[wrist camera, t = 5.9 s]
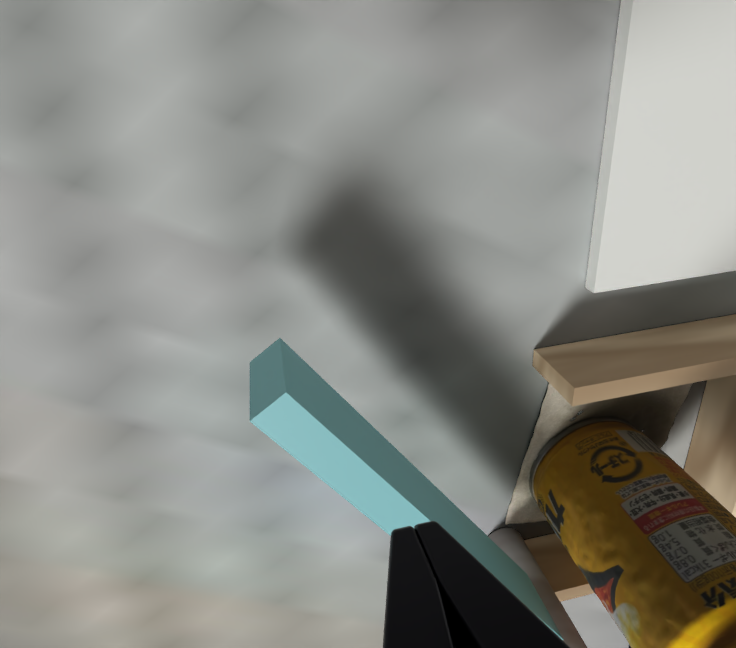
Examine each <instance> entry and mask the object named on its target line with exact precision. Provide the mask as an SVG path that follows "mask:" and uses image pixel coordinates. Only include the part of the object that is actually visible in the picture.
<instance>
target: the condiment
mask: <svg viewBox="0 0 736 648" xmlns="http://www.w3.org/2000/svg"><path fill="white" fill-rule="evenodd" d="M691 385H692V383H690V384H684V385H679V386H674V387H669V388H664V389H659V390H654V391H648V392H643V393H638V394H633V395H628V396H623V397H618V398H613V399H607V400H602V401H597V402H592V403H587V404H582V405H577V406H571V405H570V404H569V403H568V402H567V401H566V400H565V399H564V398H563V397H562V395H561V394H560V393H559V392H558V391H557V390H556V389H555V388H554V387H553V386H552V385H551V384H550V383H549V385H548V390H547V393H546V396H545V399H544V401H543V403H542V407H541V412H540V416H539V419H538V421H537V424H536V427H535V430H534V434H533V437H532V439H531V442H530V445H529V448H528V451H527V453H526V455H525V458H524V461H523V464H522V467H521V470H520V474H519V477H518V480H517V483H516V487H515V489H514V492H513V495H512V500H511V503H510V505H509V509H508V512H507V516H506V523H505V525H507V524H517V523H527V522H537V521H545V520H547V521H548V523H549V524H550V526H551V527H552V528H553V530H554V532H555V533H556V535H557V537H558V538H559V539H560V541H561V542H562V544H563V545H564V547H565V548H566V549H567V551H568V552H569V554H570V556H571V557H572V559H573V561H574V562H575V564H576V565H577V566H578V567H579V568H580V570H581V571H582V573H583V575H584V576H585V578H586V579H587V581H588V583H589V585H590V587H591V589H592V590H593V592H594V593H595V594H597V596H598V597H599V599H600V600H601V602H602V604H603V605H604V607H605V608H606V610H607V611H608V612H609V614H610V615H611V617H612V618H613V620H614V621H615V623H616V624H617V626H618V628H619V629H620V630H621V632H622V633H623V635H624V636H625V638H626V639H627V641H628V643H629V644H630V646H631V648H736V517H735V516H733V515H732V514H731V513H730V512H729V511H728V510H727V509H726V508H725V507H724V506H723V505H721V504H720V503H719V502H718V501H717V500H716V499H715V498H714V497H713V496H712V495H711V494H709V493H708V492H707V491H706V490H705V489H704V488H703V487H702V486H701V485H700V484H699V483H697V482H696V481H695V480H694V479H693V478H692V477H691V476H690V475H689V474H688V473H686V472H685V471H684V470H683V469H682V468H681V467H680V466H679V465H678V464H676V463H675V462H674V461H673V460H672V459H671V458H670V457H669V456H668V455H667V454H666V453H664V452H663V451H662V450H661V447H662V446H663V445H664V444H665V442H666V440H667V439H668V434H669V431H670V429H671V427H672V425H673V423H674V419H675V417H676V415H677V413H678V411H679V409H680V407H681V406H682V404H683V402H684V401H685V399H686V398H687V396H688V392H689V390H690V387H691ZM581 410H584V411H583V412H582V413H581V414H580V415H577V413H578V412H580V411H581ZM573 417H576V419H575V420H573V421H570V420H571V419H572V418H573ZM643 429H644V432H642V430H643Z"/></svg>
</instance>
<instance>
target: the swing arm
mask: <svg viewBox="0 0 736 648" xmlns="http://www.w3.org/2000/svg"><path fill="white" fill-rule="evenodd" d="M250 422H251V423H252V424H254V425H255V426H256V427H257V428H259V429H260V430H261V431H262V432H264V433H265V434H266V435H267V436H268V437H270V438H271V439H272V440H273V441H275V442H276V443H277V444H278V445H280V446H281V447H282V448H283V449H284V450H286V451H287V452H288V453H289V454H291V455H292V456H293V457H294V458H295V459H297V460H298V461H299V462H300V463H302V464H303V465H304V466H305V467H307V468H308V469H309V470H310V471H311V472H313V473H314V474H315V475H316V476H318V477H319V478H320V479H321V480H322V481H324V482H325V483H326V484H327V485H329V486H330V487H331V488H332V489H334V490H335V491H336V492H337V493H338V494H340V495H341V496H342V497H343V498H345V499H346V500H347V501H348V502H350V503H351V504H352V505H353V506H354V507H356V508H357V509H358V510H359V511H361V512H362V513H363V514H364V515H365V516H367V517H368V518H369V519H370V520H372V521H373V522H374V523H375V524H377V525H378V526H379V527H380V528H381V529H383V530H384V531H385V532H386V533H388V534H389V535H390V536H391V532H392V531H393V530H394V529H398V528H402V527H407V526H412V527H413V528H414V526H415V525H417V524H420V523H425V522H429V521H436V522H438V523H439V524H440V525H441V526H442V527H443V528H444V529H445V530H446V531H447V532H448V533H449V534H450V535H452V536H453V537H454V538H455V539H456V540H457V541H458V542H459V543H460V544H461V545H462V546H463V547H464V548H465V549H466V550H467V551H468V552H470V553H471V554H472V555H473V556H474V557H475V558H476V559H477V560H478V561H479V562H480V563H481V564H482V565H483V566H484V567H485V568H487V569H488V570H489V571H490V572H491V573H492V574H493V575H494V576H495V577H496V578H497V579H498V580H499V581H500V582H501V583H502V584H503V585H505V586H506V587H507V588H508V589H509V590H510V591H511V592H512V593H513V594H514V595H515V596H516V597H517V598H518V599H519V600H520V601H521V602H523V603H524V604H525V605H526V606H527V607H528V608H529V609H530V610H531V611H532V612H533V613H534V614H535V615H536V616H537V617H538V618H540V619H541V620H542V621H543V622H544V623H545V624H546V625H547V626H548V627H549V628H550V629H551V630H552V631H553V632H554V633H555V634H556V635H558V636H559V637H560V638H561V639H562V640H564V639H563V638H562V636H561V634H560V632H559V630H558V629H557V627H556V625H555V623H554V621H553V620H552V618H551V616H550V614H549V612H548V611H547V609H546V607H545V605H544V603H543V602H542V600H541V598H540V596H539V594H538V593H537V591H536V589H535V587H534V585H533V584H532V582H531V580H530V578H529V577H528V575H527V573H526V572H525V571H523V570H522V569H521V568H520V567H519V566H518V565H517V564H516V563H515V562H514V561H513V560H512V559H511V558H510V557H509V556H508V555H507V554H506V553H505V552H504V551H503V550H501V549H500V548H499V547H498V546H497V545H496V544H495V543H494V542H493V541H492V540H491V539H490V538H489V537H488V536H487V535H486V534H485V533H484V532H483V531H482V530H481V529H479V528H478V527H477V526H476V525H475V524H474V523H473V522H472V521H471V520H470V519H469V518H468V517H467V516H466V515H465V514H464V513H463V512H462V511H461V510H460V509H459V508H457V507H456V506H455V505H454V504H453V503H452V502H451V501H450V500H449V499H448V498H447V497H446V496H445V495H444V494H443V493H442V492H441V491H440V490H439V489H438V488H437V487H436V486H434V485H433V484H432V483H431V482H430V481H429V480H428V479H427V478H426V477H425V476H424V475H423V474H422V473H421V472H420V471H419V470H418V469H417V468H416V467H415V466H414V465H412V464H411V463H410V462H409V461H408V460H407V459H406V458H405V457H404V456H403V455H402V454H401V453H400V452H399V451H398V450H397V449H396V448H395V447H394V446H393V445H392V444H390V443H389V442H388V441H387V440H386V439H385V438H384V437H383V436H382V435H381V434H380V433H379V432H378V431H377V430H376V429H375V428H374V427H373V426H372V425H371V424H370V423H368V422H367V421H366V420H365V419H364V418H363V417H362V416H361V415H360V414H359V413H358V412H357V411H356V410H355V409H354V408H353V407H352V406H351V405H350V404H349V403H348V402H347V401H345V400H344V399H343V398H342V397H341V396H340V395H339V394H338V393H337V392H336V391H335V390H334V389H333V388H332V387H331V386H330V385H329V384H328V383H327V382H326V381H325V380H323V379H322V378H321V377H320V376H319V375H318V374H317V373H316V372H315V371H314V370H313V369H312V368H311V367H310V366H309V365H308V364H307V363H306V362H305V361H304V360H303V359H301V358H300V357H299V356H298V355H297V354H296V353H295V352H294V351H293V350H292V349H291V348H290V347H289V346H288V345H287V344H286V343H285V342H284V341H283V340H282V339H281V338H279V339H278V340H277V341H275V342H274V343H273V344H272V345H270V346H269V347H268V348H267V349H266V350H264V351H263V352H262V353H261V354H259V355H258V356H257V357H256V358H255V359H253V360H252V361H251V362H250Z"/></svg>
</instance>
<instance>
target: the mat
mask: <svg viewBox="0 0 736 648" xmlns="http://www.w3.org/2000/svg"><path fill="white" fill-rule="evenodd" d="M730 271H736V0H621V4H620V12H619V20H618V28H617V36H616V44H615V52H614V60H613V68H612V76H611V84H610V92H609V100H608V108H607V116H606V124H605V132H604V140H603V148H602V156H601V164H600V172H599V180H598V188H597V196H596V204H595V212H594V220H593V228H592V236H591V244H590V252H589V260H588V268H587V276H586V284H585V288H586V289H588V290H590V291H591V292H593V293H598V292H605V291H611V290H617V289H623V288H630V287H636V286H642V285H649V284H655V283H661V282H667V281H674V280H680V279H686V278H692V277H699V276H705V275H711V274H717V273H724V272H730Z"/></svg>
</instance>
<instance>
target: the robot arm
mask: <svg viewBox="0 0 736 648" xmlns="http://www.w3.org/2000/svg"><path fill="white" fill-rule="evenodd" d="M383 648H570V647H569V646H568V645H567V644H566V643H565V642H564V641H563V640H562V639H561V638H560V637H559V636H558V635H556V634H555V633H554V632H553V631H552V630H551V629H550V628H549V627H548V626H547V625H546V624H545V623H544V622H543V621H542V620H541V619H540V618H538V617H537V616H536V615H535V614H534V613H533V612H532V611H531V610H530V609H529V608H528V607H527V606H526V605H525V604H524V603H523V602H521V601H520V600H519V599H518V598H517V597H516V596H515V595H514V594H513V593H512V592H511V591H510V590H509V589H508V588H507V587H506V586H505V585H503V584H502V583H501V582H500V581H499V580H498V579H497V578H496V577H495V576H494V575H493V574H492V573H491V572H490V571H489V570H488V569H487V568H485V567H484V566H483V565H482V564H481V563H480V562H479V561H478V560H477V559H476V558H475V557H474V556H473V555H472V554H471V553H470V552H468V551H467V550H466V549H465V548H464V547H463V546H462V545H461V544H460V543H459V542H458V541H457V540H456V539H455V538H454V537H453V536H452V535H450V534H449V533H448V532H447V531H446V530H445V529H444V528H443V527H442V526H441V525H440V524H439V523H438V522H436V521H429V522H425V523H420V524H417V525H415V526H414V528H413V527H412V526H407V527H402V528H398V529H394V530H393V531H392V532H391V541H390V555H389V569H388V582H387V596H386V610H385V624H384V638H383ZM630 648H631V646H630Z"/></svg>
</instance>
